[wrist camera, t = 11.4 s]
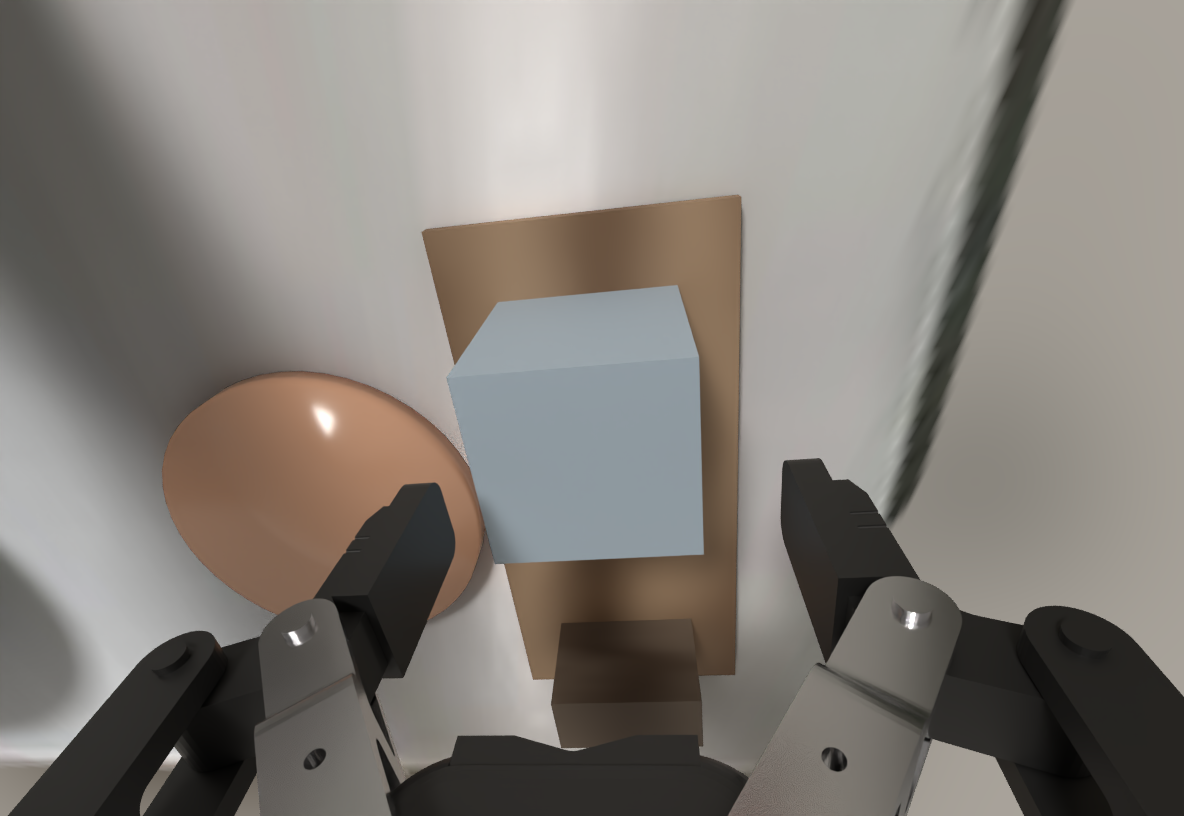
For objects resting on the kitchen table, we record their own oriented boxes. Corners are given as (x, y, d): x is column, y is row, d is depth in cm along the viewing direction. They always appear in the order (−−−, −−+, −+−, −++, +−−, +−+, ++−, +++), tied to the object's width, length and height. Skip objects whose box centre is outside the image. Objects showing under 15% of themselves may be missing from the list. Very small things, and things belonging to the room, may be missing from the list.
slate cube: (527, 452, 21) (495, 563, 16) (497, 301, 18) (446, 377, 13) (683, 441, 21) (703, 554, 15) (677, 285, 18) (698, 356, 13)
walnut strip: (534, 670, 28) (519, 761, 24) (426, 229, 18) (370, 262, 14) (733, 665, 27) (751, 759, 23) (738, 194, 17) (772, 219, 13)
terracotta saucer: (256, 617, 28) (241, 637, 27) (125, 384, 22) (99, 399, 20) (509, 607, 26) (504, 628, 25) (445, 357, 20) (435, 370, 19)
